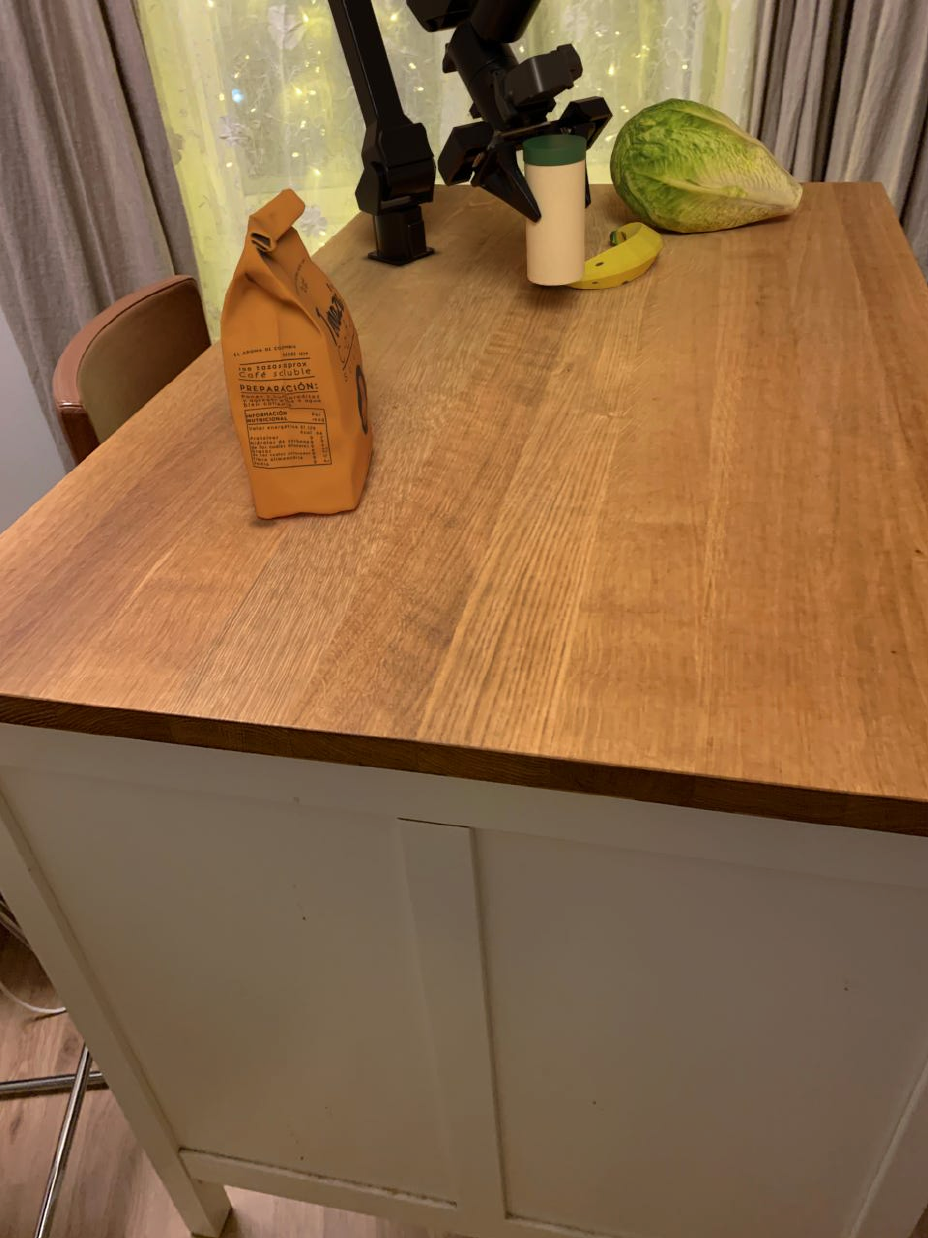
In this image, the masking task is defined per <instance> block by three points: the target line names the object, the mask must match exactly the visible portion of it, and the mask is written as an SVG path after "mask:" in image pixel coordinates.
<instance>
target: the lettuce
mask: <svg viewBox="0 0 928 1238" xmlns="http://www.w3.org/2000/svg"><path fill="white" fill-rule="evenodd" d="M609 174H610V180H611V183H612V185H613V188H614V190H615V193H616V194H617V196H618V197H619V198H620V199H621V201H622V202H623V203H624V204H625V205H626V207H627V208H628V209H629V211H630V212H631V213H632V214H633V215H634V216H635V217H637V218H639V219H641V220H642V221H644V222H646V223H647V224H649V225H651V226H654V227H657V228H661V229H665V230H668V231H674V232H677V233H683V234H686V233H689V234H690V233H707V232H715V231H720V230H725V229H732V228H736V227H740V226H745V225H748V224H750V223H751V224H752V223H754V222H760V221H763V220H767V219H771V218H775V217H776V218H777V217H780V216H786V215H792V214H793V213H794V212H795V211H796V210H797V208H798V207H799V205H801V203H802V198H803V192H804V187H803V186H802V184H800V183H799V181H797V179H796V178H795V177H794V176H793V175H791V173H790V172H788V171H787V170H786V168H785V167H784V166H783V165H782V163H781V162H780V161H779V160H778V159H777V158H776V156H775V155H773V153H772V152H771V151H770V150H769V148H768V147H767V146H766V145H765V144H764V143H763V142H762V141H761V140H759V139H757V138H756V137H755V136H753V135H752V134H751V133H749V132H747V130H745V129H744V128H742V127H741V126H740V125H739V124H738V123H736V122H735V121H734V120H733V119H732V118H730V116H728V115H727V114H726V113H724V112H722V111H721V110H720V111H719V110H717V109H715V108H713V107H711V106H707V105H705V104H702V103H699V102H696V101H695V100H691V99H690V100H689V99H683V98H675V97H671V98H668V99H665V100H663V101H660V102H657V103H655V104H652V105H649V106H647V107H644V108H642V109H641V110H640V111H638V112H637V113H636V114H634V115H633V116H632V117H631V118H629V119H628V120H626V121H625V122H624V124H623V126H622V127H621V128H620V130H619V131H618V133H617V135H616V137H615V141H614V144H613V147H612V150H611V154H610V160H609Z"/></svg>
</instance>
